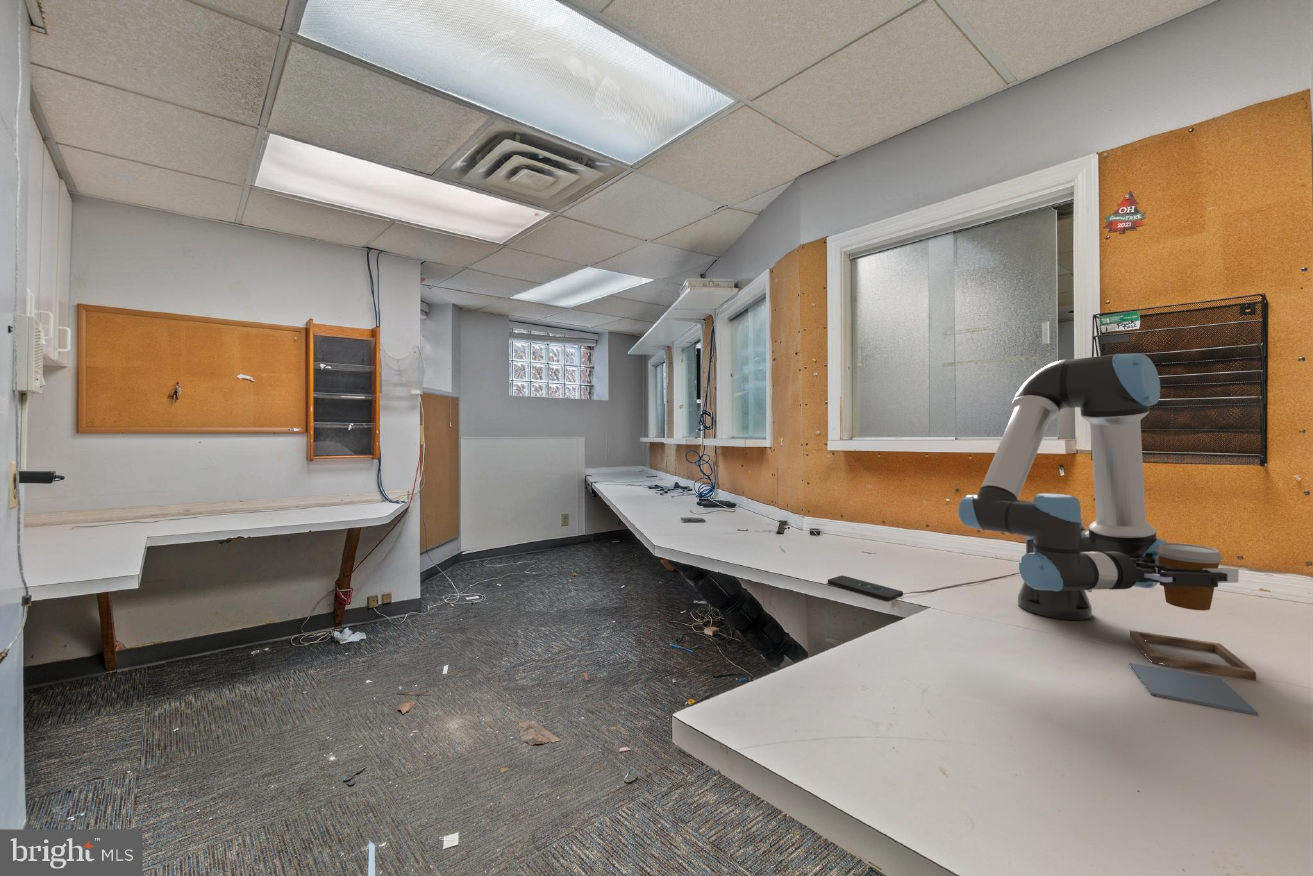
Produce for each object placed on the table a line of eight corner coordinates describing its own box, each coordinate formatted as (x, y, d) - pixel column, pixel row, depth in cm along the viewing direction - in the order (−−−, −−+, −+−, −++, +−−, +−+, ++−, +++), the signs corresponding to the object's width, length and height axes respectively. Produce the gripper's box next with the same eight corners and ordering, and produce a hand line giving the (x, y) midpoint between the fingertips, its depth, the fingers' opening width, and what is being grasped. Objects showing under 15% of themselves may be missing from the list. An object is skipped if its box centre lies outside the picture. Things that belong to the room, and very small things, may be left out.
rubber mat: (1151, 695, 90) (1151, 692, 90) (1128, 664, 101) (1128, 662, 101) (1257, 715, 83) (1258, 712, 83) (1220, 680, 94) (1220, 678, 94)
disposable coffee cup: (1190, 598, 108) (1191, 542, 108) (1237, 614, 98) (1238, 553, 98) (1142, 597, 109) (1142, 542, 108) (1183, 613, 99) (1184, 552, 99)
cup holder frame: (1151, 662, 101) (1151, 655, 101) (1129, 636, 114) (1129, 630, 114) (1255, 680, 94) (1256, 672, 94) (1219, 650, 107) (1219, 643, 107)
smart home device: (888, 596, 139) (826, 579, 155) (888, 603, 139) (826, 585, 155) (904, 590, 143) (842, 574, 160) (904, 596, 144) (842, 580, 160)
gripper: (1059, 573, 114) (1156, 572, 114) (1155, 607, 92) (1274, 604, 93) (1059, 540, 113) (1157, 539, 114) (1156, 566, 92) (1275, 564, 93)
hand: (1209, 568), depth 103 cm, fingers closed on disposable coffee cup, 8 cm apart
